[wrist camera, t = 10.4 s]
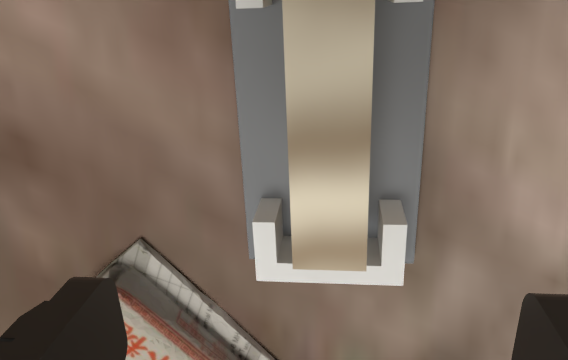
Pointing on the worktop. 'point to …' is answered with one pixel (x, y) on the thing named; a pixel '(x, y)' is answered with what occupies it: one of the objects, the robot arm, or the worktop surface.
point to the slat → (329, 129)
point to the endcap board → (383, 150)
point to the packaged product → (173, 313)
